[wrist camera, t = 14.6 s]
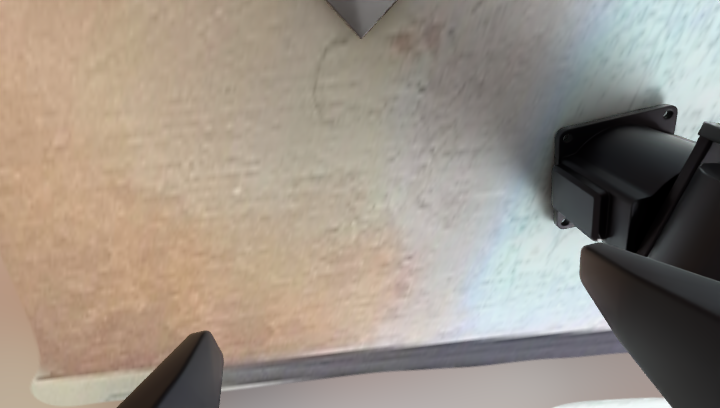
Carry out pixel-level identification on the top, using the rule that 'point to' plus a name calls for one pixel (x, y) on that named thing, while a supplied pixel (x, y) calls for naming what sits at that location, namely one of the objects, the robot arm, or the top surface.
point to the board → (361, 13)
